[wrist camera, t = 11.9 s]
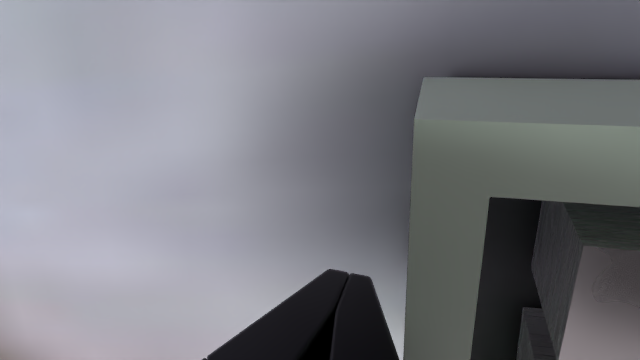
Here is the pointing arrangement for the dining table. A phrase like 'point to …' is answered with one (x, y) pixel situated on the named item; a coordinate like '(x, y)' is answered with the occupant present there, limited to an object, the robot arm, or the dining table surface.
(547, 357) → the tong arm
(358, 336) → the robot arm
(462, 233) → the lock clip
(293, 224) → the dining table surface
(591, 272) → the tongs fixed arm
